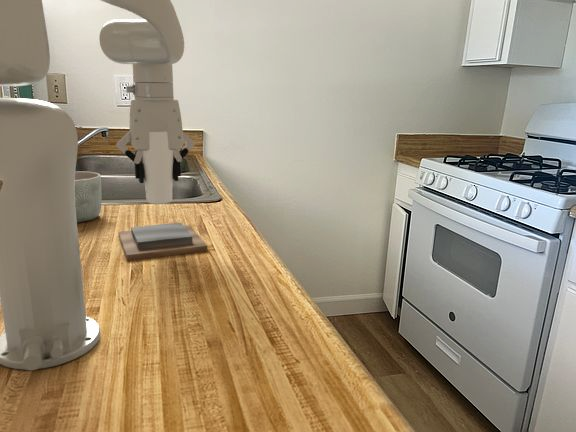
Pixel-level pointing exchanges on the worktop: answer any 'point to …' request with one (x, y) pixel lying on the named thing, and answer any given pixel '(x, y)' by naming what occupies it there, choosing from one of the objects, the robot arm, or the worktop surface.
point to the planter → (87, 195)
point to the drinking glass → (158, 169)
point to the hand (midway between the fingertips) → (158, 180)
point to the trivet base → (160, 250)
